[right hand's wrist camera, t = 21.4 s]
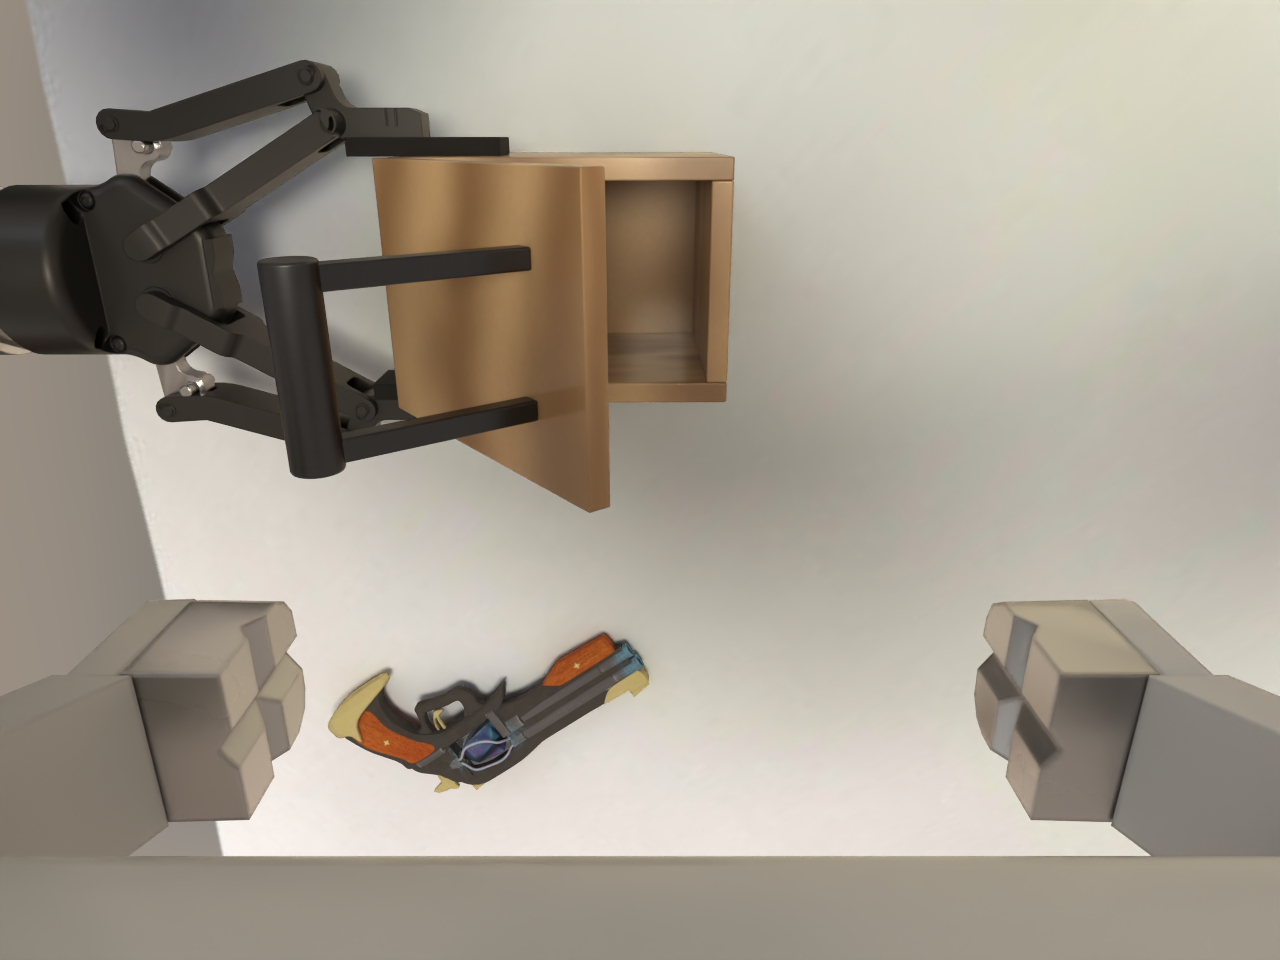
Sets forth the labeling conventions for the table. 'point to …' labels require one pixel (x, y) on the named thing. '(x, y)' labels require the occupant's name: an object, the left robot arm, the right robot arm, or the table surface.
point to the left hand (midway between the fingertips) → (511, 271)
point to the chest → (661, 269)
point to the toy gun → (489, 716)
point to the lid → (464, 323)
